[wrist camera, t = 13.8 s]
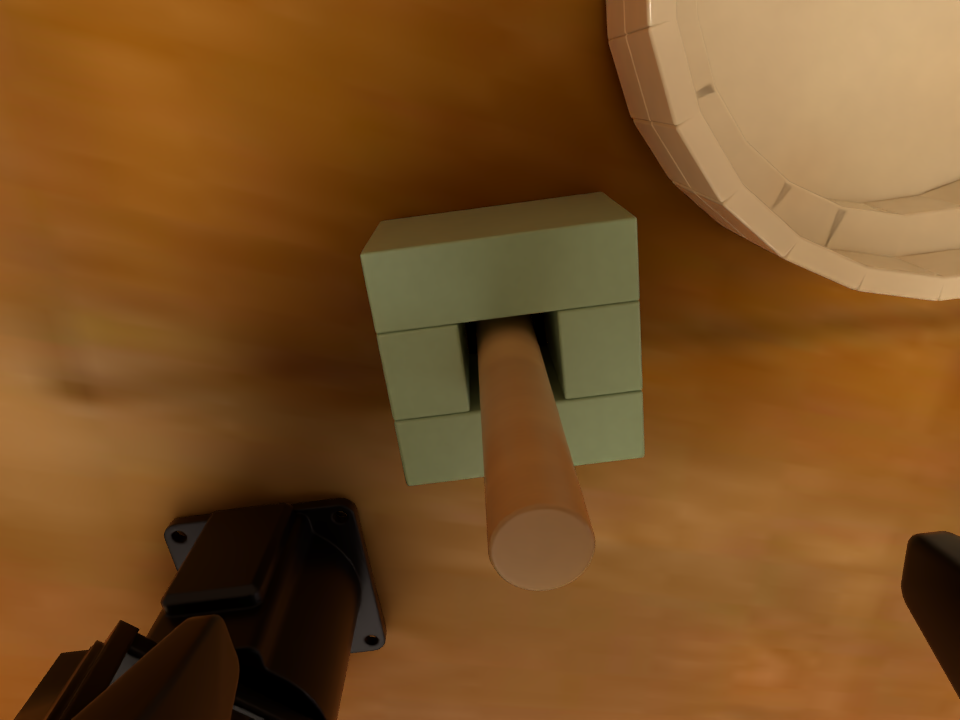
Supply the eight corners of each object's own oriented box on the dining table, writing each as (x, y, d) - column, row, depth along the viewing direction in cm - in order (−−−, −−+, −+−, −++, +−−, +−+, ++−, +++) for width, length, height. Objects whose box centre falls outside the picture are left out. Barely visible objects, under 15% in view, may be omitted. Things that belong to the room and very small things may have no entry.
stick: (530, 334, 20) (599, 586, 10) (479, 340, 20) (495, 598, 10) (525, 284, 19) (592, 498, 9) (472, 291, 19) (481, 512, 9)
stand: (613, 392, 21) (645, 458, 17) (416, 417, 21) (406, 488, 17) (602, 190, 18) (637, 216, 15) (379, 220, 19) (359, 253, 15)
